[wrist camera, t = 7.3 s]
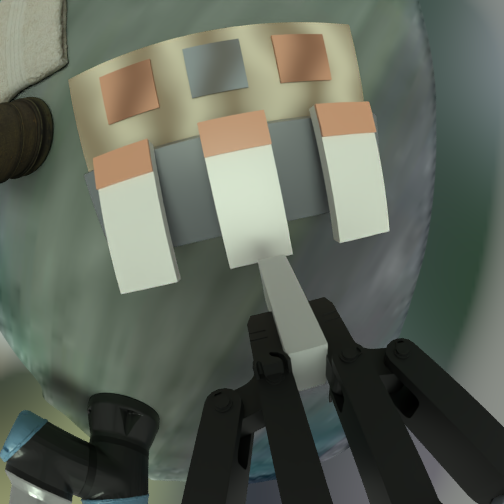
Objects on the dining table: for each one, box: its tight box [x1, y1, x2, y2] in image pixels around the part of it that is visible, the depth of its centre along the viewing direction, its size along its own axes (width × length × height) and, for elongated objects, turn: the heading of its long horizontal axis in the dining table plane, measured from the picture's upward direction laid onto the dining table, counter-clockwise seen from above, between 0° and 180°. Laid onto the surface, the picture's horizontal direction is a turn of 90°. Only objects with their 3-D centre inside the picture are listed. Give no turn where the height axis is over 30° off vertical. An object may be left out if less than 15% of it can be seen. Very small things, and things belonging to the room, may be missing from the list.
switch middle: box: [197, 110, 293, 269], centre depth 18 cm, size 4×10×2 cm, turn 10°
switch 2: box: [309, 102, 389, 243], centre depth 19 cm, size 4×10×2 cm, turn 10°
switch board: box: [68, 22, 364, 172], centre depth 23 cm, size 28×20×2 cm
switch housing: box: [84, 114, 379, 247], centre depth 22 cm, size 24×8×5 cm, turn 100°
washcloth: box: [0, 0, 68, 103], centre depth 12 cm, size 12×18×3 cm, turn 9°
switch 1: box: [93, 139, 181, 294], centre depth 18 cm, size 4×10×2 cm, turn 10°
